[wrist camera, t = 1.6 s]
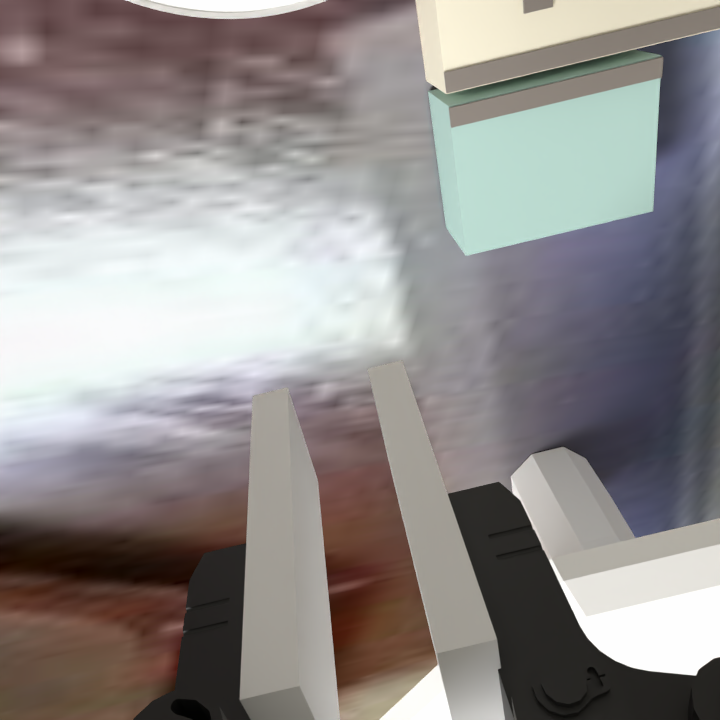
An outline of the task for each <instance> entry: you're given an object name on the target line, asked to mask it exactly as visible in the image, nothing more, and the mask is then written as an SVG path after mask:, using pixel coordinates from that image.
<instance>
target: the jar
mask: <svg viewBox="0 0 720 720" xmlns="http://www.w3.org/2000/svg"><path fill="white" fill-rule="evenodd" d="M126 1H129V2H132V3H135V4H138V5H141V6H145V7H148V8H152V9H156V10H160V11H164V12H169V13H174V14H179V15H186V16H193V17H202V18H216V19H242V18H256V17H264V16H271V15H277V14H282V13H287V12H291V11H295V10H299V9H303V8H306V7H309V6H312V5H315V4H318V3H321V2H324V1H326V0H126Z"/></svg>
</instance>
